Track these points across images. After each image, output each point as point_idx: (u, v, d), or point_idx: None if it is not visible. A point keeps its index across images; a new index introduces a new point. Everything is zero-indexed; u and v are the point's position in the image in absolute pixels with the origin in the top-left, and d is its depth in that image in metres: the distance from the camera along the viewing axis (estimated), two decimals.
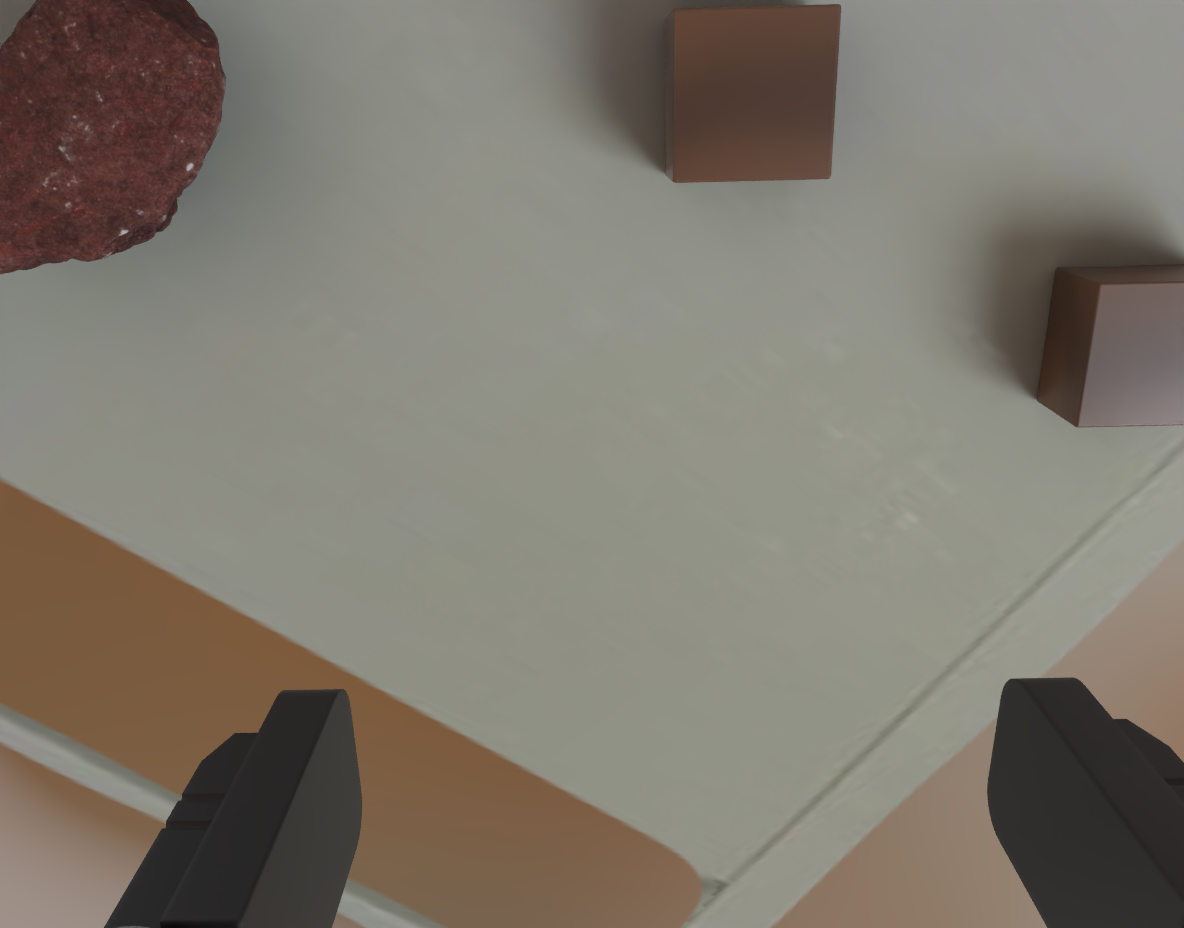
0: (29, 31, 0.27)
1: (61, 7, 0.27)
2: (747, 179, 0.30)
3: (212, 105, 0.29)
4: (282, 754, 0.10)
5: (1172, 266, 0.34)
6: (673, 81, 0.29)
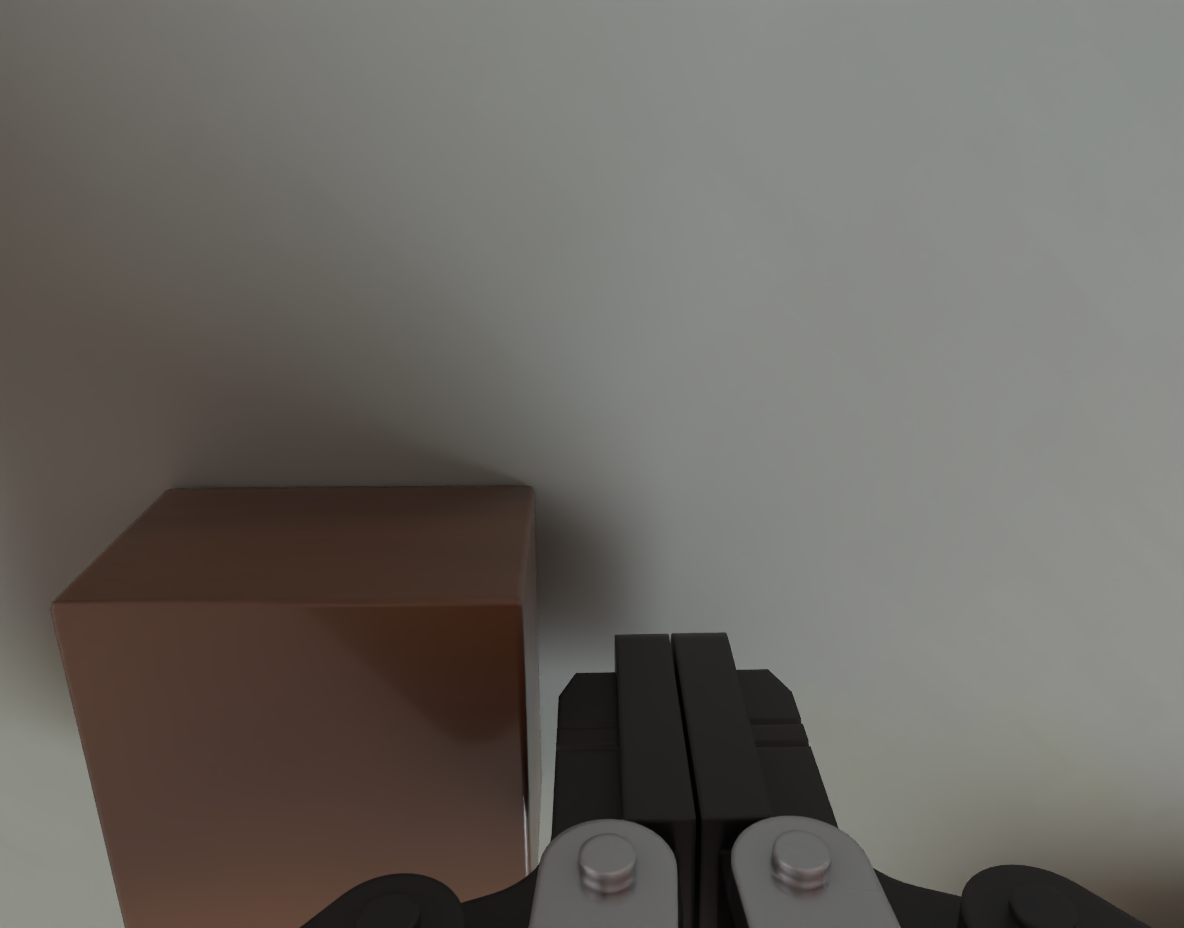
0: None
1: None
2: None
3: None
4: (650, 686, 0.11)
5: None
6: (88, 755, 0.11)
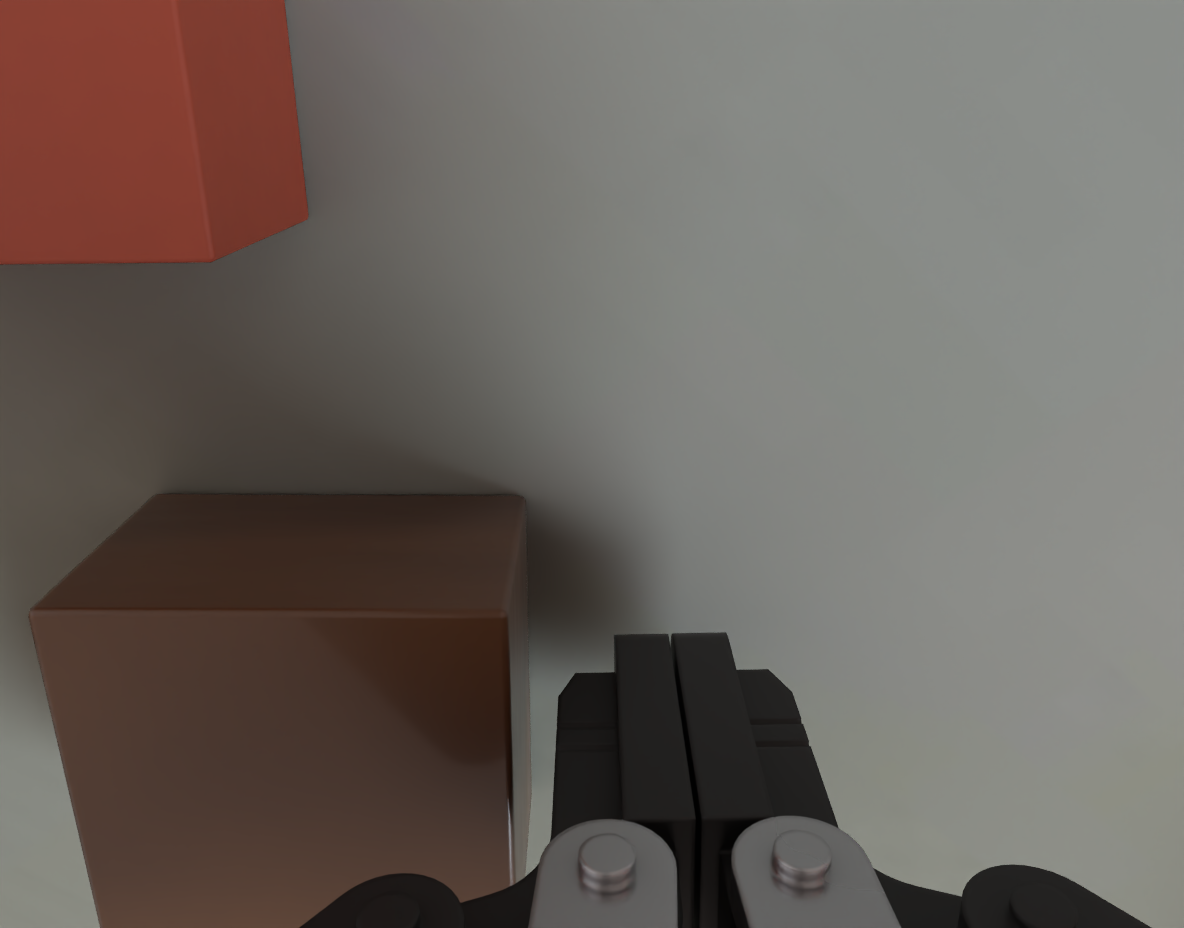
0: None
1: None
2: None
3: None
4: (649, 687, 0.11)
5: None
6: (67, 764, 0.11)
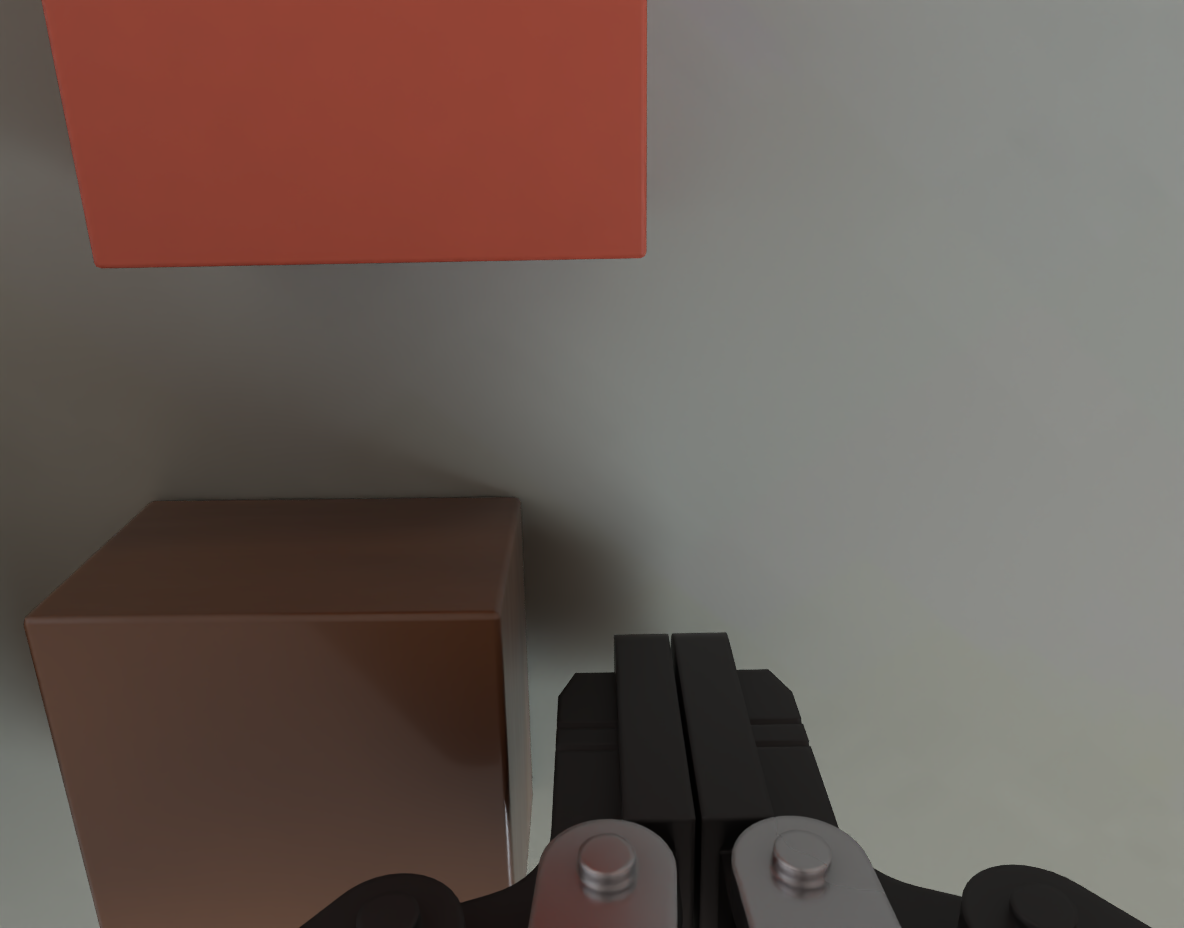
0: None
1: None
2: None
3: None
4: (649, 687, 0.11)
5: None
6: None
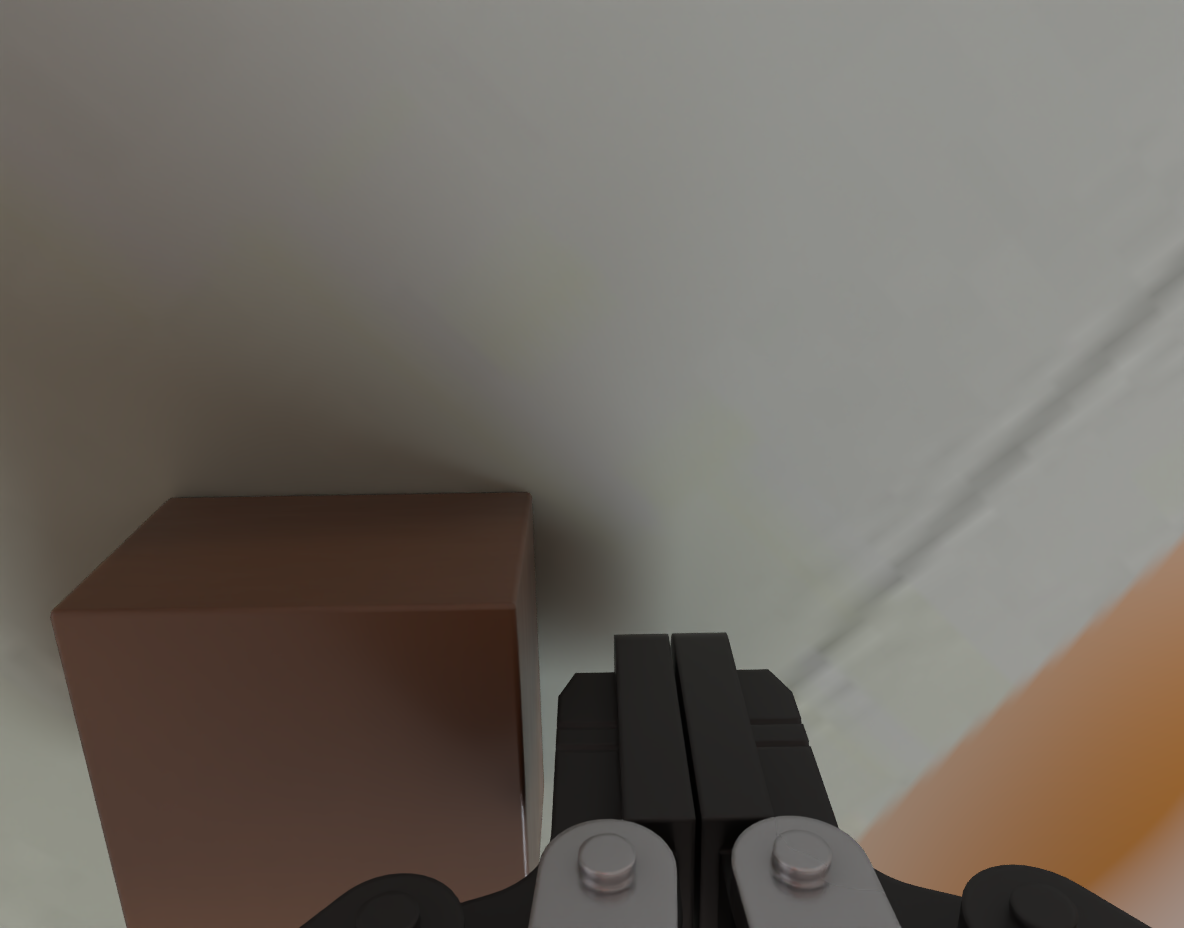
0: None
1: None
2: None
3: None
4: (649, 687, 0.11)
5: (455, 501, 0.13)
6: None
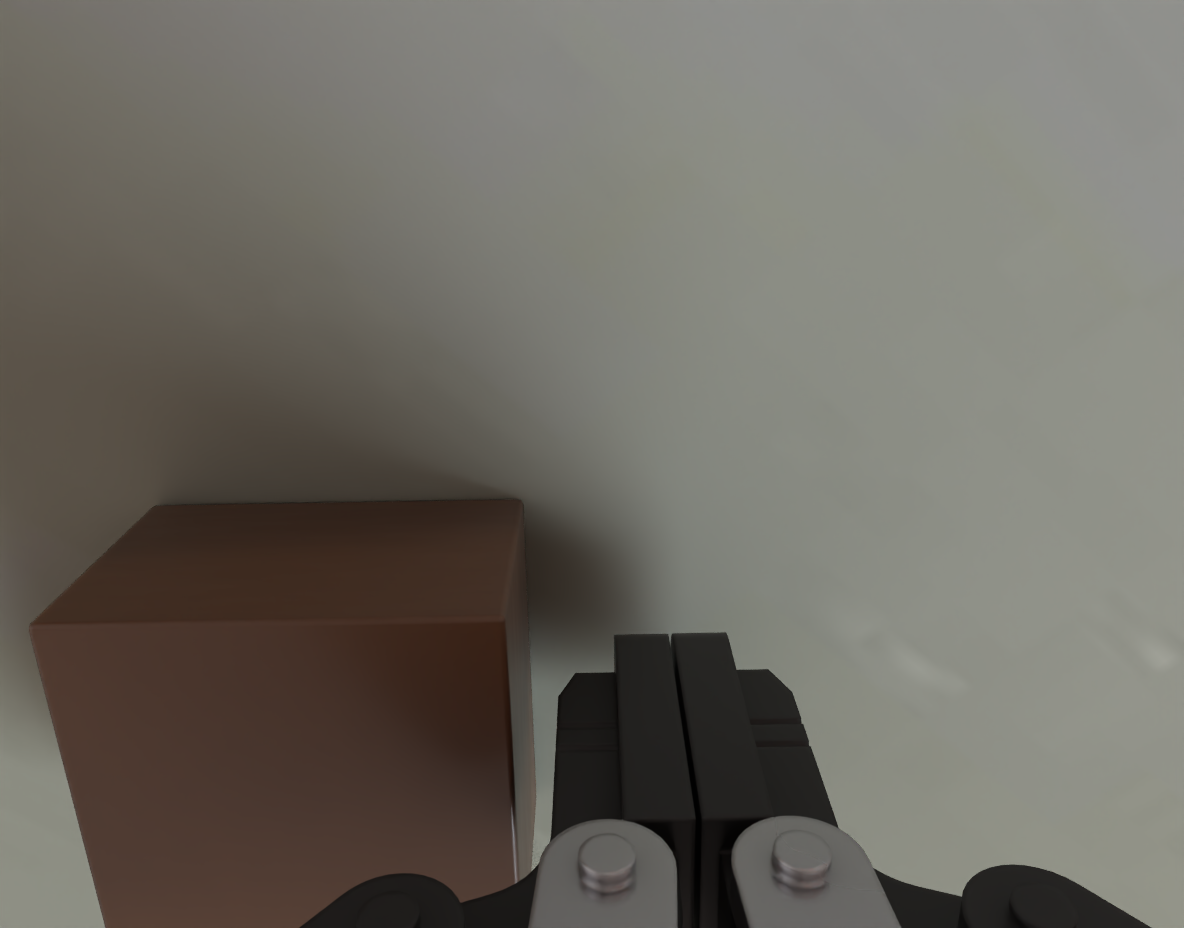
0: None
1: None
2: None
3: None
4: (649, 687, 0.11)
5: (445, 509, 0.13)
6: None
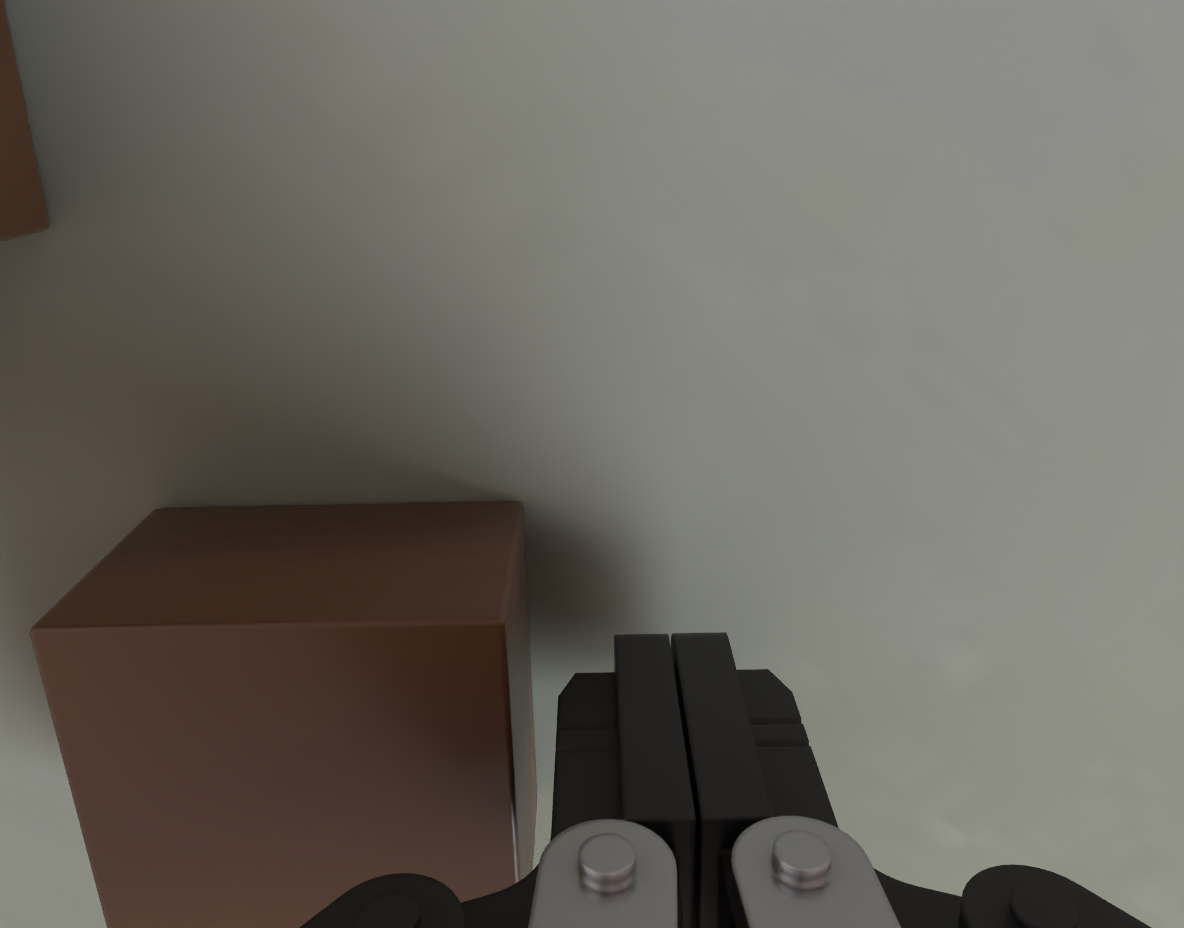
0: None
1: None
2: None
3: None
4: (649, 687, 0.11)
5: (445, 511, 0.13)
6: None
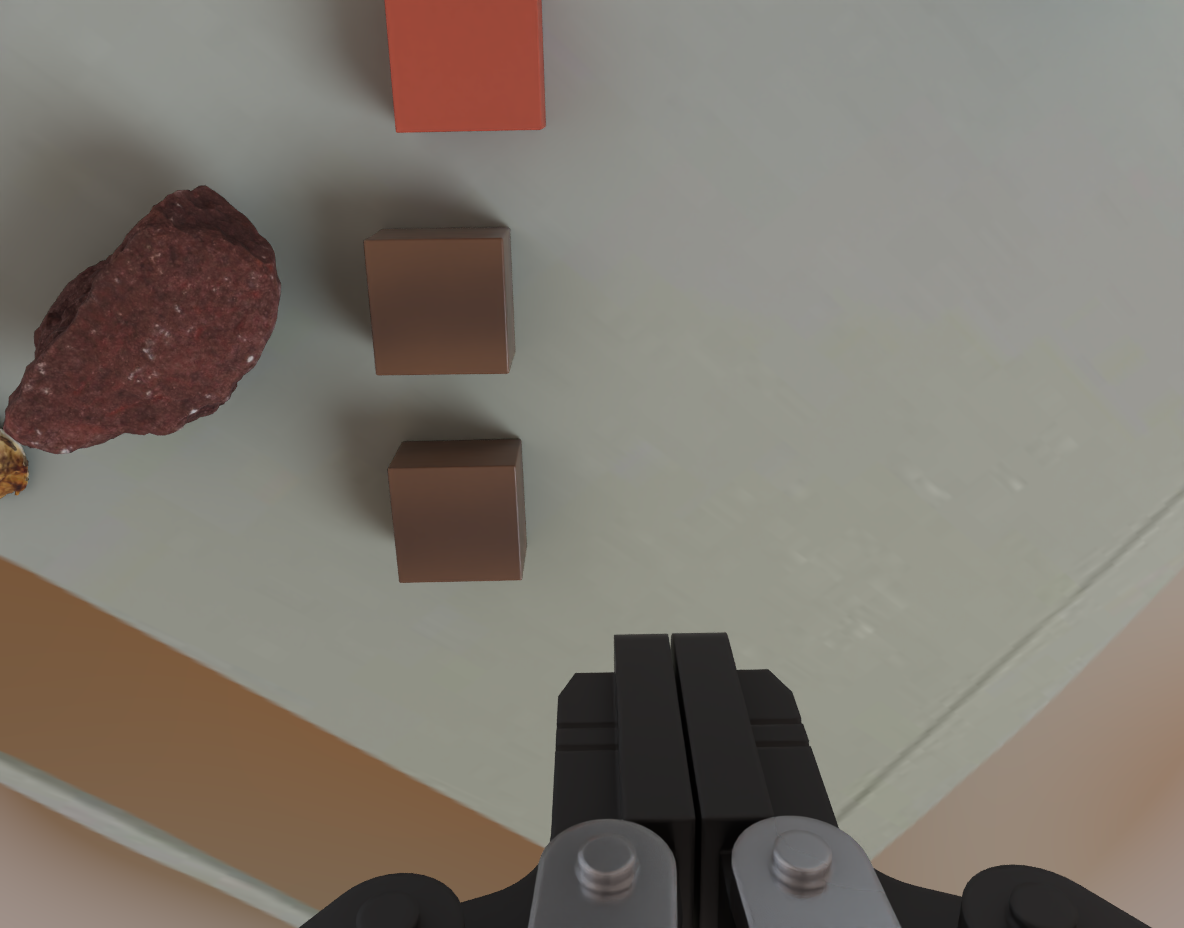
0: (122, 261, 0.32)
1: (149, 242, 0.32)
2: (438, 373, 0.36)
3: (270, 308, 0.34)
4: (649, 687, 0.11)
5: (496, 441, 0.40)
6: (369, 295, 0.35)
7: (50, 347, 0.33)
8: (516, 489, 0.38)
